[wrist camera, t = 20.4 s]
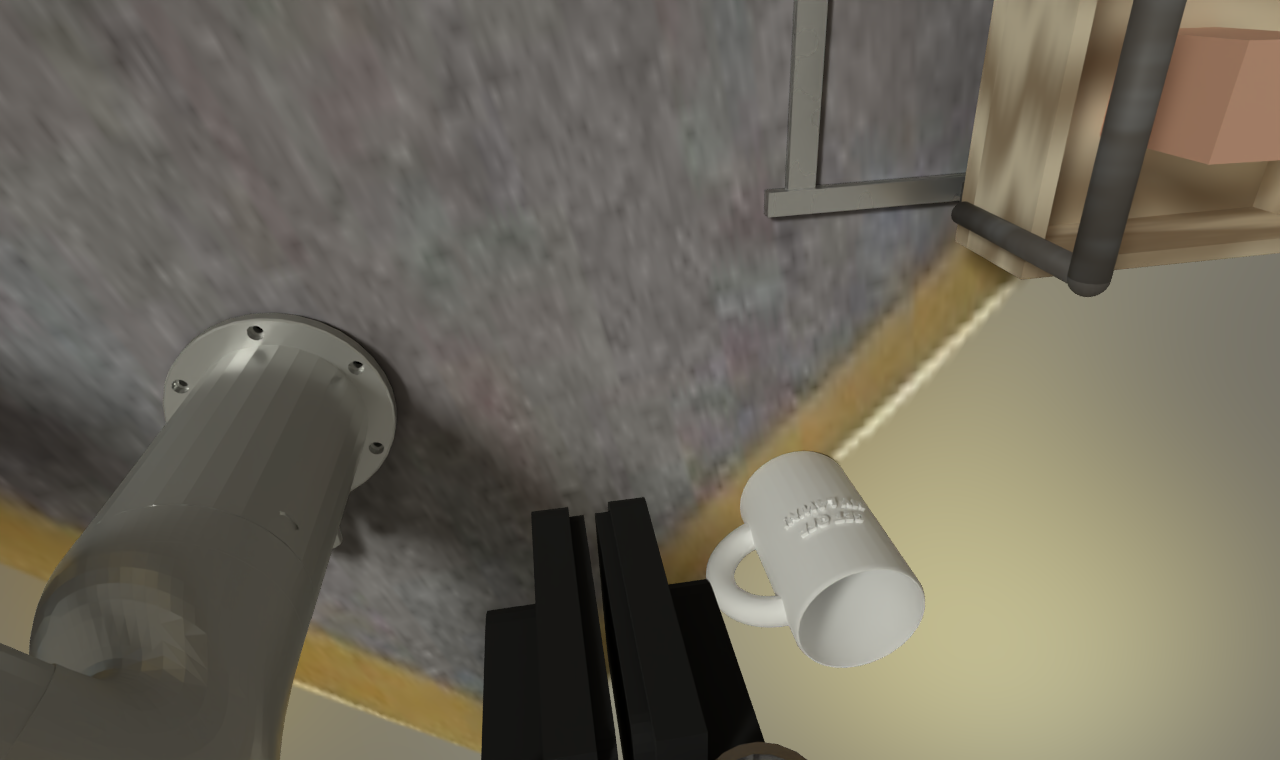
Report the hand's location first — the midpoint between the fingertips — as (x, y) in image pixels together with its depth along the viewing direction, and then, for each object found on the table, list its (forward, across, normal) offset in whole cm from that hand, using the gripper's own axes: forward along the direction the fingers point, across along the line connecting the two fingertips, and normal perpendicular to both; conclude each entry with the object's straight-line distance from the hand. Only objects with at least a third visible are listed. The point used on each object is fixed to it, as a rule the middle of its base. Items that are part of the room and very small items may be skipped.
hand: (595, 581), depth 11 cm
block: (+28, -32, -2) cm, 42 cm away
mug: (+33, -14, +26) cm, 45 cm away
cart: (+32, -31, -2) cm, 45 cm away
